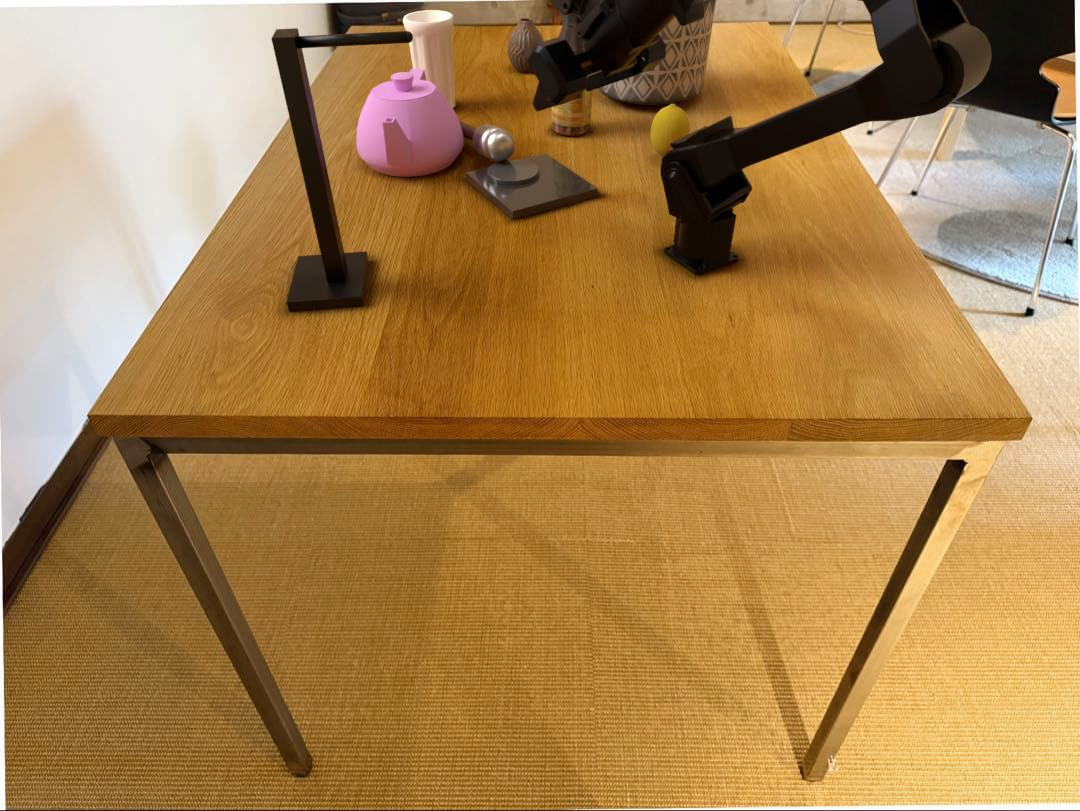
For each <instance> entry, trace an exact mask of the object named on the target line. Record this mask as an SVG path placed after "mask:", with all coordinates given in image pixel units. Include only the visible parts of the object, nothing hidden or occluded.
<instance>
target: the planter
mask: <svg viewBox="0 0 1080 811" xmlns="http://www.w3.org/2000/svg"><path fill="white" fill-rule="evenodd" d="M716 3H717V0H704V7H705V12H704V13H705V16H704V18H703V19H702V20H700V21H697V22H694V23H691V24H688V25H686V26H681V25H680V24H679V22H678V20H677V19H676V17H675V18H674V19H673V20H672V21H671V22H670V23H669V24H668V25H667V26H666V27H665V28H664V29H663V30H662V31H661V32H660V33H659V34H660V36H661V38H662V40H663V41H664V43H665V45H666V54H665V58H664V59H663V60H662V61H661V62H660V63H659V64H658V65H657V66H656V67H654V68H651V69H648V70H647V71H645V72H643V73H640V74H638V75H635V76H633V77H630V78H627V79H624V80H621V81H618V82H615V83H612V84H609V85H606V86H603V87H600V88H598V89H597V90H599V92H600V93H601V94H602V95H604V96H606V97H608V98H611V99H613V100H615V101H619V102H623V103H629V104H634V105H639V106H662V105H667V104H668V105H670V104H675V103H680V102H684V101H688V100H690V99H692V98H695V97H696V96H698V95H699V94H700V93H701V92H702V90H703V88H704V85H705V78H706V72H707V65H708V64H707V63H708V57H709V50H710V45H711V44H710V43H711V38H712V30H713V25H714V24H713V23H714V17H715V12H716V11H715V10H716V5H717V4H716ZM643 60H644V58H643ZM644 61H645V60H644Z"/></svg>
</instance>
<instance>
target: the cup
mask: <svg viewBox="0 0 1080 811" xmlns="http://www.w3.org/2000/svg"><path fill="white" fill-rule="evenodd" d="M402 23H403V27H404V29H405V31H409V32H411V33H412V35H413V40H412V41H411V42H410V43H408V45H409V51H410V57H411V58H410V59H411V63H412V69H424V70H425V75H426V80H427V81H429V82H431V83H433V84H434V85H436V86H437V88H438V89H439V90H440V91H441V92H442V94H443V95H444V96H445V98H446V99H447V100H448V102H449V103H450V105H451V106H452V108H453V109H454V108H455V107H456V86H455V84H456V83H455V64H454V42H453V41H454V40H453V39H454V38H453V28H454V15H453V13H451V12H449V11H445V10H439V9H426V10H418V11H412V12H410V13H407V14H405V15H404V16H403V18H402Z"/></svg>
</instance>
